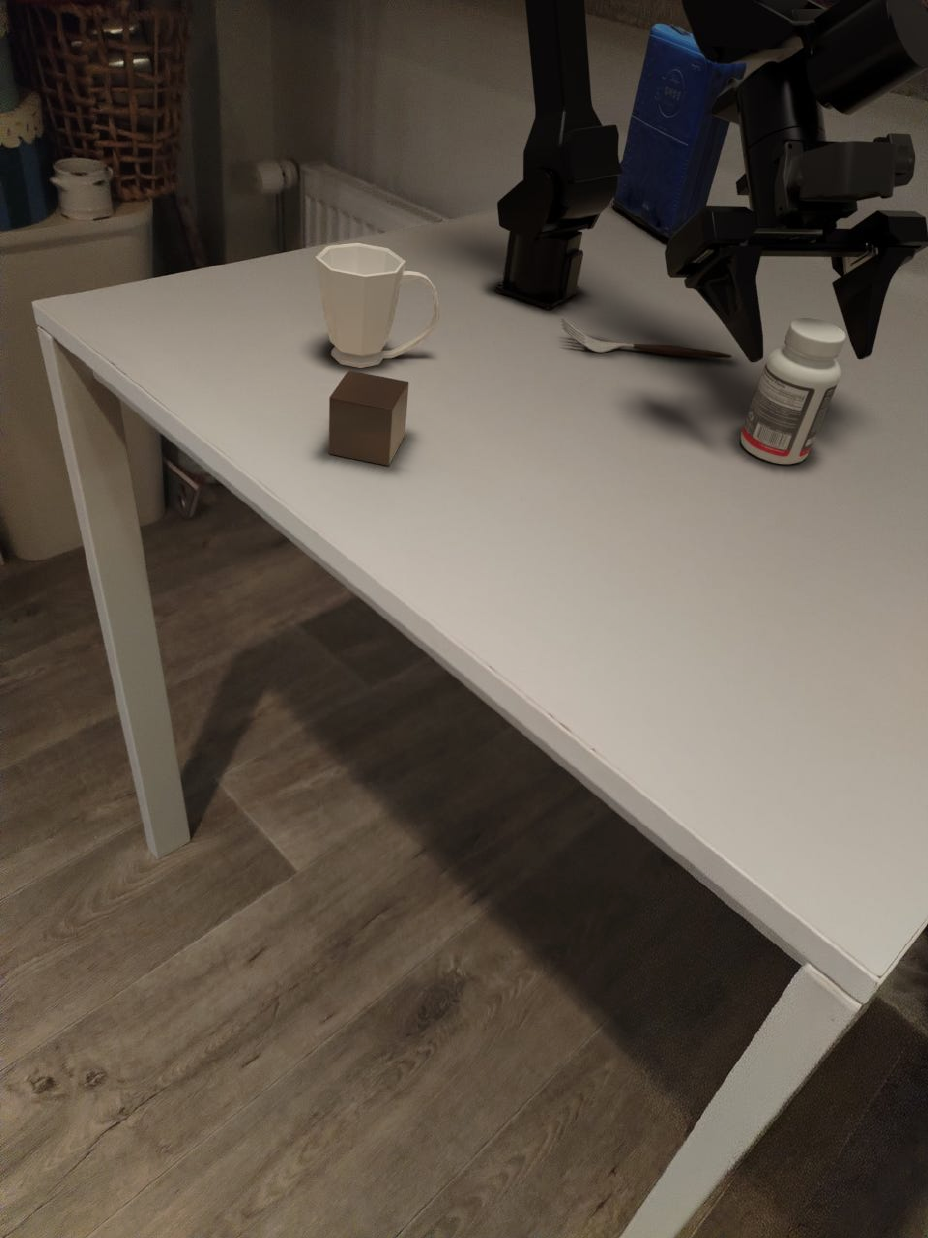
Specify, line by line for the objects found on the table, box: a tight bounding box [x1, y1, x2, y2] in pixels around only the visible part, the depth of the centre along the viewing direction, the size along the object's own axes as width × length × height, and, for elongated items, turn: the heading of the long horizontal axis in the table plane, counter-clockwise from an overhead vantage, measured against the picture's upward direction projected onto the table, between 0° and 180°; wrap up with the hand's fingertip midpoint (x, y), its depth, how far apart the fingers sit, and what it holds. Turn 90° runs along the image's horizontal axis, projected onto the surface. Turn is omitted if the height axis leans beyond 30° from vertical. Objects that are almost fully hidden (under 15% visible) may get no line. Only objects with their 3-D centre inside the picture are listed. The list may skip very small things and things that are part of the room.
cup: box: [315, 242, 440, 369], centre depth 73 cm, size 7×10×8 cm
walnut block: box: [328, 369, 409, 467], centre depth 63 cm, size 4×4×4 cm
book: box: [611, 23, 748, 239], centre depth 104 cm, size 14×5×20 cm, turn 23°
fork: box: [560, 316, 732, 359], centre depth 82 cm, size 3×16×2 cm, turn 89°
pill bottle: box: [740, 317, 847, 465], centre depth 68 cm, size 5×5×10 cm
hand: (811, 359), depth 66 cm, fingers open, 9 cm apart
